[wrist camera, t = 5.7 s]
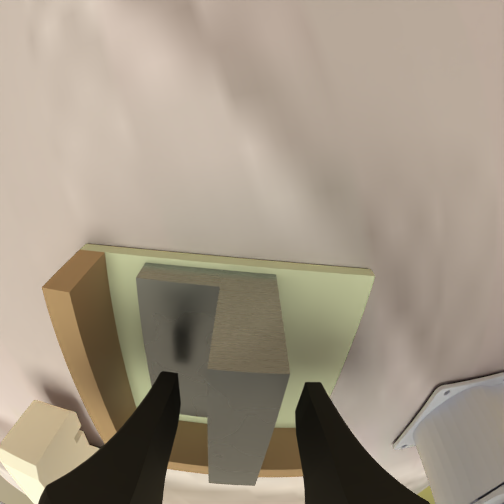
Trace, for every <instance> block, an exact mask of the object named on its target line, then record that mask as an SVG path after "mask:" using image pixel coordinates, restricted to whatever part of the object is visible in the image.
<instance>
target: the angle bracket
mask: <svg viewBox="0 0 504 504" xmlns="http://www.w3.org/2000/svg"><path fill="white" fill-rule="evenodd" d="M136 285H137V295H138V304H139V312H140V320H141V327H142V334H143V341H144V347H145V353H146V359H147V365H148V371H149V376H150V381H151V386H153V384H154V382H155V381H156V379H157V377H158V375H159V374H160V372H162V371H166V372H173V373H178V379H179V389H180V399H181V407H180V414H181V415H189V416H197V417H206V418H207V428H208V473H209V483H216V484H230V485H252V486H255V484H256V481H257V478H258V475H259V472H260V469H261V467H262V464H263V461H264V458H265V455H266V452H267V449H268V446H269V443H270V440H271V437H272V433H273V430H274V427H275V424H276V421H277V418H278V414H279V411H280V408H281V404H282V401H283V398H284V394H285V391H286V387H287V384H288V380H289V377H290V369H289V361H288V354H287V347H286V340H285V332H284V325H283V318H282V311H281V305H280V298H279V291H278V284H277V278H276V274H265V273H253V272H242V271H230V270H219V269H208V268H198V267H187V266H177V265H167V264H157V263H147V262H145V264H144V266H143V267H142V269H141V270H140V272H139V273H138V275H137V277H136Z"/></svg>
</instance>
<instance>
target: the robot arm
mask: <svg viewBox="0 0 504 504" xmlns="http://www.w3.org/2000/svg"><path fill="white" fill-rule="evenodd" d="M180 407H181V399H180V389H179V379H178V373H173V372H166V371H162V372H160V374H159V375H158V377H157V379H156V381H155V382H154V384H153V386H152V387H151V389H150V390H149V392H148V393H147V395H146V396H145V398H144V399H143V400H142V402H141V403H140V404H139V406H138V407H137V409H136V410H135V411H134V413H133V414H132V415H131V416H130V417H129V419H128V420H127V421H126V422H125V423H124V425H123V426H122V427H121V428H120V429H119V430H118V431H117V432H116V434H115V435H114V436H113V437H112V438H111V439H110V440H109V441H108V442H107V443H106V444H104V445H103V446H102V447H101V448H100V449H99V450H98V451H97V452H95V453H94V454H93V455H92V456H91V457H90V458H88V459H87V460H86V461H84V462H83V463H82V464H80V465H79V466H77V467H76V468H75V469H73V470H72V471H70V472H69V473H67V474H66V475H64V476H62V477H60V478H59V479H57V480H55V481H53V482H52V483H50V484H48V485H46V487H45V489H44V491H43V492H42V494H41V496H40V499H39V502H38V504H162V500H163V491H164V483H165V476H166V471H167V467H168V463H169V459H170V455H171V451H172V447H173V443H174V439H175V435H176V431H177V427H178V422H179V415H180ZM295 425H296V437H297V443H298V449H299V454H300V460H301V466H302V472H303V478H304V487H305V504H430V503H429V502H428V501H426V500H425V499H423V498H421V497H420V496H418V495H416V494H415V493H413V492H412V491H410V490H409V489H408V488H406V487H405V486H404V485H402V484H401V483H399V482H398V481H397V480H396V479H395V478H394V477H392V476H391V475H390V474H389V473H388V472H387V471H386V470H384V469H383V468H382V467H381V466H380V465H379V464H378V463H377V462H376V461H375V460H374V459H373V458H372V457H371V455H370V454H369V453H368V452H367V451H366V450H365V449H364V447H363V446H362V445H361V444H360V443H359V441H358V440H357V439H356V437H355V436H354V435H353V433H352V432H351V431H350V429H349V428H348V426H347V425H346V423H345V422H344V420H343V419H342V417H341V416H340V414H339V413H338V411H337V409H336V408H335V406H334V404H333V403H332V401H331V399H330V398H329V396H328V394H327V392H326V390H325V389H324V387H323V385H322V383H321V382H305V384H304V387H303V390H302V393H301V396H300V399H299V401H298V404H297V407H296V410H295ZM413 446H416V447H417V450H418V453H419V455H420V458H421V461H422V464H423V467H424V470H425V472H426V475H427V478H428V481H429V484H430V487H431V490H432V494H433V497H434V500H435V503H436V504H504V372H502V373H499V374H495V375H491V376H486V377H482V378H478V379H473V380H468V381H463V382H458V383H453V384H447V385H442V386H440V387H438V388H437V389H436V390H435V391H434V392H433V394H432V395H431V397H430V398H429V400H428V401H427V402H426V404H425V405H424V407H423V408H422V409H421V411H420V412H419V413H418V415H417V416H416V417H415V419H414V420H413V421H412V422H411V424H410V425H409V426H408V428H407V429H406V430H405V431H404V432H403V434H402V435H401V436H400V437H399V438H398V440H397V441H396V442H395V443H394V444H393V449H394V450H399V449H403V448H408V447H413ZM0 504H4V503H3V502H1V501H0Z"/></svg>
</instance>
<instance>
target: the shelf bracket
mask: <svg viewBox="0 0 504 504" xmlns="http://www.w3.org/2000/svg"><path fill="white" fill-rule="evenodd" d="M80 427H81V424H80V422H79V419H78V416H77V414H76V412H74V411H70V410H67V409H64V408H60V407H57V406H54V405H51V404H48V403H45V402H42V401H38V400H34V401H33V402H32V403H31V405H30V406H29V407H28V408H27V410H26V411H25V412H24V413H23V415H22V416H21V417H20V418H19V420H18V421H17V422H16V424H15V425H14V426H13V427H12V429H11V430H10V431H9V433H8V434H7V435H6V437H5V438H4V439H3V441H2V442H1V443H0V461H1V462H2V464H3V465H4V467H5V468H6V469H7V471H8V472H9V473H10V475H11V476H12V477H13V479H14V480H15V481H16V483H17V484H18V485H19V486H20V488H21V489H22V490H23V491H24V493H25V494H26V495H27V496H28V497H29V498H30V500H31V501H32V502H33V503H34V504H38V502H39V499H40V496H41V494H42V492H43V491H44V489H45V487H46V485H48V484H50V483H52V482H53V481H55V480H57V479H59V478H60V477H62V476H64V475H66V474H67V473H69V472H70V471H72V470H73V469H75V468H76V467H77V466H79V465H80V464H82V463H83V462H84V461H86V460H87V459H88V458H90V457H91V456H92V455H93V454H94V453H95V452H97V451H98V450H99V449H100V448H97V447H94V446H91V445H89V443H88V441H87V439H86V436H85V434H84V431H80V430H79V429H80Z"/></svg>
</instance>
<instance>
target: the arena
mask: <svg viewBox="0 0 504 504" xmlns="http://www.w3.org/2000/svg"><path fill="white" fill-rule="evenodd" d="M145 262H147V263H157V264H167V265H177V266H187V267H198V268H208V269H219V270H230V271H242V272H253V273H265V274H276V278H277V284H278V291H279V298H280V305H281V311H282V318H283V325H284V332H285V340H286V347H287V354H288V361H289V369H290V377H289V380H288V384H287V387H286V391H285V394H284V398H283V401H282V404H281V408H280V411H279V414H278V418H277V421H276V424H275V427H274V430H273V433H272V437H271V440H270V443H269V446H268V449H267V452H266V455H265V458H264V461H263V464H262V467H261V469H260V472H259V475H258V477H299V476H303V472H302V466H301V460H300V454H299V449H298V443H297V437H296V425H295V410H296V407H297V404H298V401H299V399H300V396H301V393H302V390H303V387H304V384H305V382H321V383H322V385H323V387H324V389H325V390H326V392H327V394H328V396H329V397H330V395H331V393H332V391H333V388H334V386H335V384H336V382H337V379H338V377H339V375H340V372H341V370H342V367H343V365H344V362H345V360H346V358H347V355H348V353H349V350H350V347H351V345H352V342H353V340H354V337H355V334H356V332H357V329H358V326H359V323H360V321H361V318H362V315H363V312H364V309H365V306H366V303H367V300H368V297H369V294H370V291H371V288H372V285H373V282H374V279H375V275H374V274H373V272H372V271H371V269H363V268H351V267H339V266H327V265H315V264H303V263H291V262H280V261H268V260H257V259H245V258H234V257H223V256H212V255H201V254H190V253H179V252H168V251H158V250H147V249H136V248H126V247H115V246H105V245H95V244H85V245H84V246H83V247H82V248H81V249H80V250H79V251H78V252H77V253H76V254H75V255H74V256H73V257H72V258H71V259H70V260H69V261H68V262H67V263H65V264H64V265H63V266H62V267H61V268H60V269H59V270H58V271H57V272H56V273H55V274H54V275H53V276H52V277H51V279H50V280H49V281H48V282H47V283H46V284H45V285H44V286H43V287H42V290H43V294H44V297H45V301H46V305H47V308H48V311H49V315H50V318H51V321H52V324H53V327H54V330H55V333H56V336H57V339H58V342H59V345H60V348H61V350H62V353H63V356H64V358H65V361H66V364H67V366H68V369H69V371H70V374H71V376H72V378H73V381H74V383H75V385H76V388H77V390H78V392H79V394H80V396H81V399H82V401H83V403H84V405H85V407H86V409H87V411H88V413H89V415H90V417H91V419H92V421H93V423H94V425H95V427H96V429H97V431H98V433H99V434H100V436H101V438H102V440H103V442H104V443H105V444H106V443H107V442H108V441H109V440H110V439H111V438H112V437H113V436H114V435H115V434H116V432H117V431H118V430H119V429H120V428H121V427H122V426H123V425H124V423H125V422H126V421H127V420H128V419H129V417H130V416H131V415H132V414H133V413H134V411H135V410H136V409H137V407H138V406H139V404H140V403H141V402H142V400H143V399H144V398H145V396H146V395H147V393H148V392H149V390H150V389H151V387H152V386H151V381H150V376H149V371H148V365H147V359H146V353H145V347H144V341H143V334H142V327H141V320H140V312H139V304H138V295H137V285H136V277H137V275H138V273H139V272H140V270H141V269H142V267H143V266H144V264H145ZM167 469H172V470H179V471H186V472H194V473H202V474H209V473H208V428H207V418H206V417H197V416H189V415H181V414H180V415H179V422H178V427H177V431H176V435H175V439H174V443H173V447H172V451H171V455H170V459H169V463H168V467H167Z"/></svg>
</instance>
